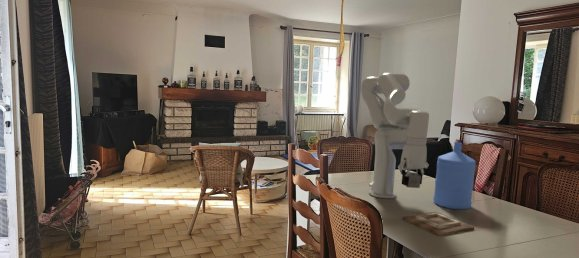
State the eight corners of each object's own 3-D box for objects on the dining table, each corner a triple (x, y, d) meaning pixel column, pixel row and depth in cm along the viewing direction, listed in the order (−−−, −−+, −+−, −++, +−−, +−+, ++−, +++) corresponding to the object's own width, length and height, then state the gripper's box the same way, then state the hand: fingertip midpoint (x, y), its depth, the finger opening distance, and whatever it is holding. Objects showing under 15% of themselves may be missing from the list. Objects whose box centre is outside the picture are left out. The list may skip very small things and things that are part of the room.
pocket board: (402, 218, 149) (402, 213, 149) (435, 213, 157) (435, 209, 157) (439, 236, 133) (440, 230, 133) (474, 229, 142) (474, 224, 141)
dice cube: (415, 184, 160) (416, 172, 159) (419, 187, 155) (420, 176, 154) (403, 183, 160) (404, 172, 159) (407, 187, 155) (408, 175, 154)
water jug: (475, 212, 163) (482, 146, 159) (436, 207, 166) (442, 143, 162) (466, 201, 178) (472, 141, 175) (430, 197, 181) (436, 139, 178)
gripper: (424, 139, 162) (420, 180, 164) (393, 140, 154) (388, 183, 157) (439, 142, 155) (433, 185, 158) (406, 144, 147) (402, 188, 150)
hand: (411, 183), depth 157 cm, fingers closed on dice cube, 6 cm apart
